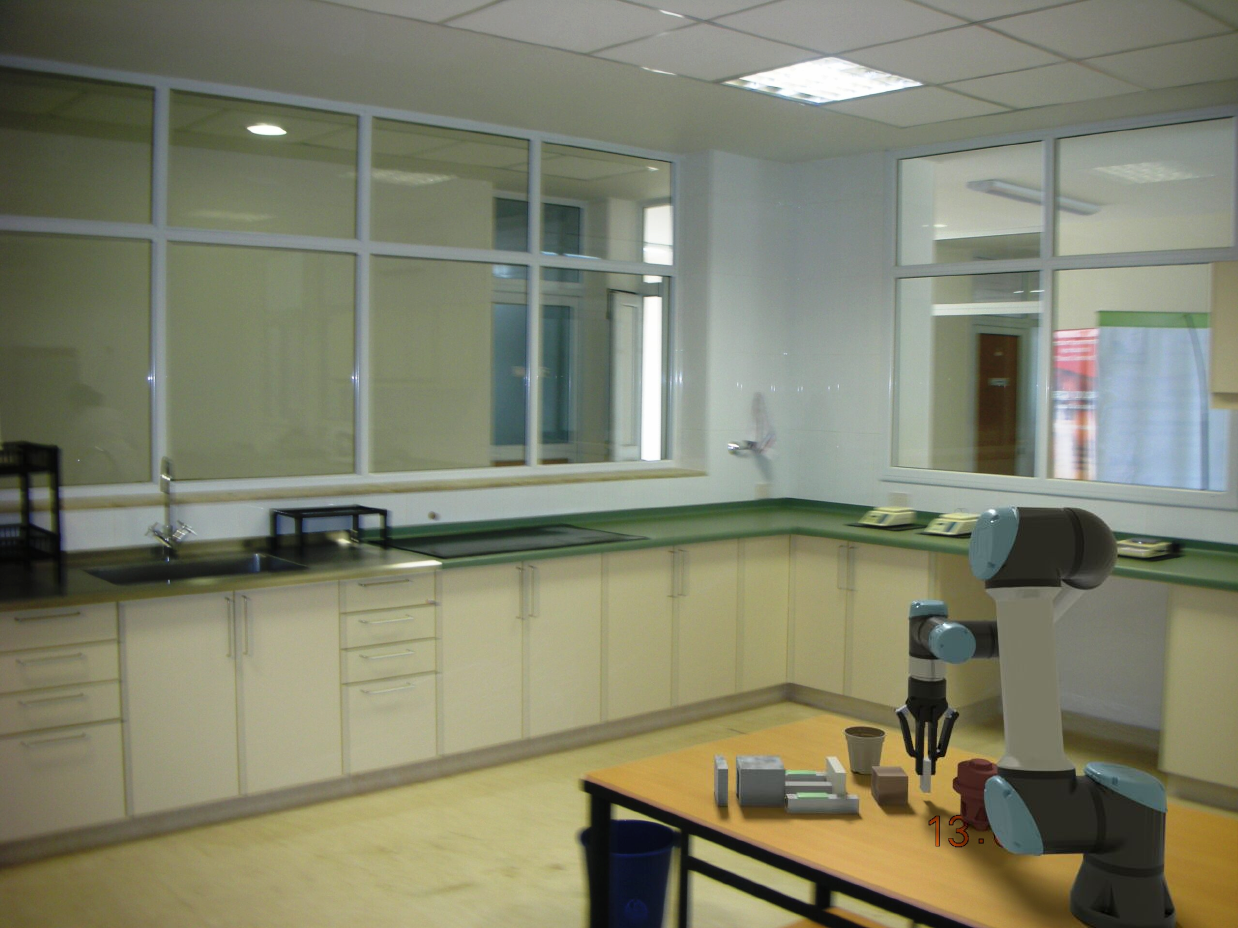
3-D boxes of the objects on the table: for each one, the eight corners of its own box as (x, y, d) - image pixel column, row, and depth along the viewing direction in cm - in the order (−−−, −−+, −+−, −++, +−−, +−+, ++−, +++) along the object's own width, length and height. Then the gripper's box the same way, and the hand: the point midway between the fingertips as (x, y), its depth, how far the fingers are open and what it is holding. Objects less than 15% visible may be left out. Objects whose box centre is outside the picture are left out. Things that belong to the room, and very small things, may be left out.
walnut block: (907, 805, 215) (908, 776, 214) (878, 805, 215) (878, 775, 214) (900, 794, 221) (900, 766, 220) (871, 794, 221) (871, 766, 220)
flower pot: (833, 766, 238) (834, 728, 238) (867, 760, 242) (868, 723, 241) (860, 779, 229) (860, 740, 229) (895, 773, 233) (895, 734, 233)
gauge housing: (858, 813, 210) (859, 775, 209) (719, 812, 210) (719, 774, 209) (842, 785, 226) (842, 750, 225) (712, 784, 226) (712, 749, 225)
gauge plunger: (845, 807, 213) (846, 772, 212) (775, 806, 213) (776, 772, 212) (835, 789, 223) (836, 756, 222) (768, 788, 223) (769, 756, 222)
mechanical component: (1002, 816, 209) (1010, 836, 199) (949, 812, 211) (954, 832, 201) (1003, 754, 208) (1012, 771, 198) (950, 751, 210) (956, 767, 200)
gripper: (953, 671, 220) (951, 783, 221) (890, 671, 220) (888, 783, 221) (965, 681, 213) (962, 797, 214) (900, 680, 213) (897, 796, 214)
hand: (925, 790), depth 218 cm, fingers closed
